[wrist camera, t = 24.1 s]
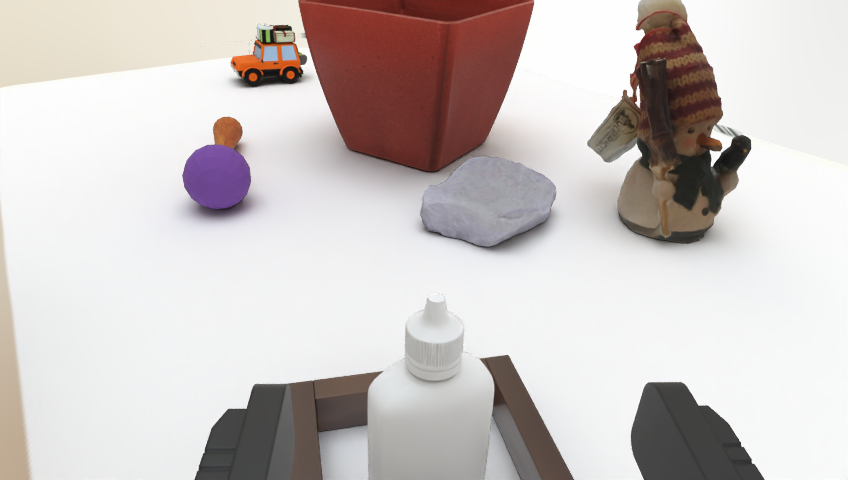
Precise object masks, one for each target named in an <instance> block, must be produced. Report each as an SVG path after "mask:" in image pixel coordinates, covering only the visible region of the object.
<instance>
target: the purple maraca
mask: <svg viewBox="0 0 848 480" xmlns="http://www.w3.org/2000/svg"><path fill="white" fill-rule="evenodd" d="M213 133H214V140H215V145H206V146H204V147H202V148H200V149H198V150H196V151H195V152H194V153H193V154H192V155H191V156H190V157H189V158H188V160H187V162H186V164H185V168H184V172H183V175H182V176H183V182H184V187H185V189H186V190H187V192H188V193H189V195H190V197H191V198H192V199H194V200H195V201H196V202H198V203H199V204H201V205H202V206H205V207H209V208H213V209H223V208H229V207H231V206H233V205H235V204H238V203H239V202H240V201H241V200H242V199H243V198H244V197H245V196H246V195H247V193H248V189H249V186H250V183H251V176H250V168H249V166H248V164H247V162H246V160H245V159H244V157H243V156H242V155H241V154H239V153H238V152H237V151H235V150H234V148H235V146H236V145H237V143H238V142H239V140H240V139H241V136H242V133H243V132H242V127H241V125H240V123H239V122H238V121H237V120H235V119H234V118H231V117H222V118H220V119H218V120H217V121H216V122H215V124H214V127H213Z"/></svg>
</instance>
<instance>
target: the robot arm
mask: <svg viewBox="0 0 848 480" xmlns="http://www.w3.org/2000/svg"><path fill="white" fill-rule="evenodd" d="M631 445H632V451H633V455H634V458H635V460H636V462H637V465H638V467H639V469H640V471H641V474H642V476H643V478H644V480H764V478H763V477H762V475H761V473H760V472H759V470H758V469H757V467H756V466H755V464H752V459H751V458H750V456H749V455H748V453H747V452H746V450H745V449H744V447H741V442H740V441H739V439H738V438H737V436H736V435H735V433H734V431H733V430H732V428H731V427H730V425H729V424H728V423H727V422H726V421H725V420H724V419H723V418H722V417H720V416H719V415H718V414H717V413H716V412H715V411H714V410H712V409H711V408H710V407H709V406H698V404H697V402H696V401H695V399H694V397H693V396H692V394H691V393H690V391H689V389H688V388H687V386H686V385H685V384H683V383H681V382H650V383H647V384H646V385H645V387H644V390H643V393H642V396H641V400H640V403H639V406H638V410H637V413H636V417H635V420H634V423H633V427H632V431H631ZM294 449H295V431H294V421H293V411H292V401H291V391H290V386H289V384H255V385H254V386H253V388H252V392H251V395H250V399H249V402H248V406H247V409H228V410H227V411H226V412H225V413H224V414H223V416H222V417H221V418H220V419H219V420H218V421H217V423H216V424H215V425H214V426H213V427H212V429H211V432H210V435H209V438H208V441H207V444H206V447H205V453H203V456H202V459H201V462H200V465H199V471H197V474H196V477H195V480H290V478H291V472H292V466H293V460H294Z"/></svg>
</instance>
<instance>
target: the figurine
mask: <svg viewBox="0 0 848 480" xmlns="http://www.w3.org/2000/svg"><path fill="white" fill-rule="evenodd" d="M638 13H639V14H638V20H637V21H638V24H637V26H636V30H640V29H643V30H644V33H645V36H644V37H643V38H642V40H641V42H640V43H638V44H636V45H635V46H634V48H635V50H636V53H637V56H638V57H637V63H636V66H635V71H634V73H633V74H630V84H631V87H632V89H633V91H634V92H633V97H630V98H629V97H628V96H627V90H624V91H623V96H622V100H621V101H620V102H619V103H618V104H617V105H616V106H615V107H614V108H612V110H611V111H610V113H609V115H608V116H607V118H606V119H605V120H604V121H603V123H602V124H601V125H600V126H599V127H598V129H597V130H596V131H595V132H594V134H593V135H592V137H591V139H590V140H589V141H588V142H587V144H588V146H589V147H590V148H592V149H593V150H594V151H595V152H596V153H597V154H599V155H600V156H601V157H602V158H603V160H604V161H605V162H609V163H610V162H612V161H614V160H616V159H618V158H619V157H620V156H621V155H622V154H624V153H625V152H627V151H628V150H630V149H631V148H633V147H634V146H635V144H636V143H637V145H638V148H639V150H640V151H641V153H642V157H640V158H639V159H638V160H636V161H635V163H634V164H633V166H632V167H631V168H630V170H629V171H628V172H627V175H626V177H625V180H624V183H623V185H622V188H621V191H620V194H619V198H618V210H619V215H620V217H621V219H622V221H623V222H624V223H625V224H626V225H627V226H628V228H629V229H631V230H632V231H634V232H636V233H639V234H641V235H644V236H647V237H651V238H655V239H660V240H666V241H674V242H680V243H691V242H694V241H698V240H699V238H702V237H703V236H704V233H705V232H706V231H707V230H708V229H709V228H710V227H711V226H712V225H713V222H714V217H715V216H716V215H717V214H718V212H719V211H720V209H721V203H722V200H723V198H724V196H725V195H727V194H728V193H730V192H731V191H732V190H734V189H735V188H736V186H737V184H738V181H739V179H738V175H737V172H736V171H737V170H738V168H739V166H740V165H741V164H742V163H743V162H744V160H745V158H746V157H747V155H748V154H749V152H750V150H751V140H750V139H749V138H748V137H746V136H744V135H740V136H736V137H734V138H733V139H732V143H731V146H730V147H729V148H727V149H726V150H725V151H723V152H722V153H721V155H720V157H719V159H718V160H717V161H716V162H715V164H714V166H713V167H711V155H710V150H712V151H721V149H722V144H721V142H720V141H719V140H716V139H713V138H710V135H711V131H712V129H713V126H714V125H716V124H717V123H718V122H719V120H720V119H721V118H722V116H723V111H722V109H721V98H720V97H719V96H718V93H717V85H716V82H715V77H714V74H713V68H712V67H711V66H710V65H709V64H708V62H707V59H706V57H705V55H704V54H703V50H702V47H701V46H700V45H699V44H698V42H697V40H696V38H695V36H694V34H693V33H692V31H691V29H690V27H689V25H688V23H687V13H686V9H685V6H684V5H683V4H682V2H681V0H641V1H640V2H639V5H638ZM638 84H639V89H640V101H641V102H640V108H639V107H638V106H637V105H636V104H635V102H636V101H637V97H636V89H637V86H638Z"/></svg>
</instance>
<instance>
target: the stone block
mask: <svg viewBox="0 0 848 480" xmlns="http://www.w3.org/2000/svg"><path fill="white" fill-rule="evenodd" d="M555 197H556V188H555V185H554V184H553V183H552V182H551V181H550V180H549V179H548V178H547V177H545V176H544V175H543V174H540V173H537V172H535V171H533V170H531V169H529V168H526V167H525V166H523V165H522V164H520V163H514V162H511V161H508V160H506V159H503V158H492V157H486V156H478V157H473V158H470V159H468V160H467V161H465V162H464V163H463V164H462V165H460V166H459V167H458V168H457V169H456V170H455V171H454V172H453V173H452V174H451V176H450V177H449V178H448V179H447V180H446V181H445V182H444V183H440V184H439V185H438V186H433V185H431V186H429V187H428V188H427V189H426V190H425V192H424V195H423V197H422V201H423V203H422V208H421V218H422V221H423V223H424V225H425V226H426V229H427V230H428V231H433V232H439V233H441V234H442V235H443V236H447V237H453V238H458V239H462V240H465V241H467V242H471V243H474V244H475V245H479V246H486V247H489V246H494V245H497V244H498V243H500V242H502V241H505V240H507V239H509V238H511V237H512V236H514V235H517V234H520V233H523V232H525V231H528V230H530V229H532V228H534V227H535V226H536V225H538V224H539V223H543V222H545V221H546V220H547V218H548V217H549V215H550V208H551V206H552V204H553V201H554V200H555Z"/></svg>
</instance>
